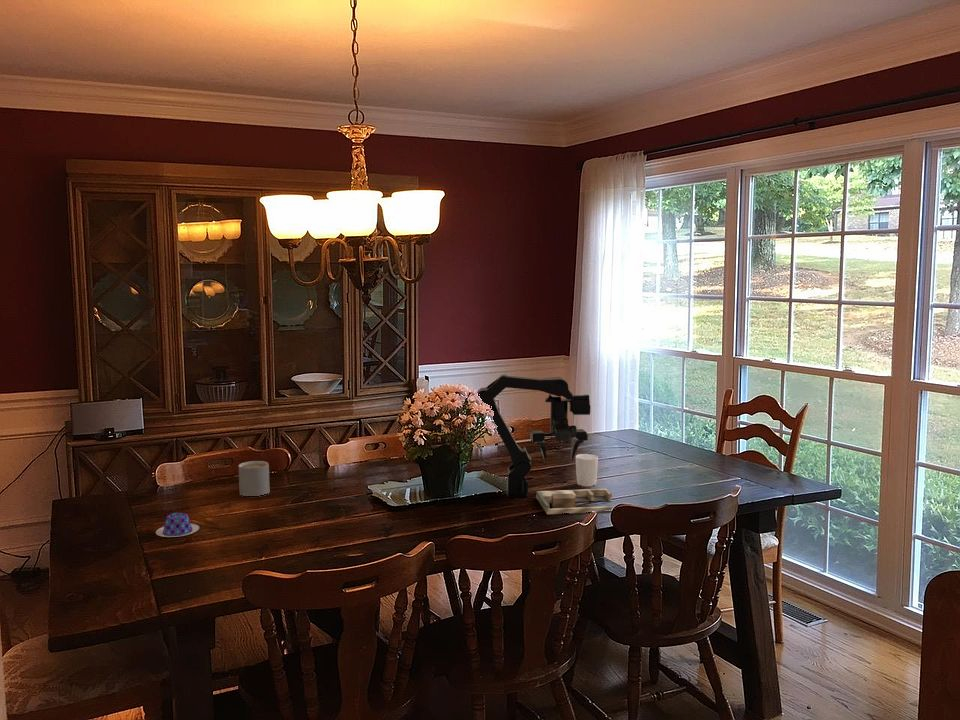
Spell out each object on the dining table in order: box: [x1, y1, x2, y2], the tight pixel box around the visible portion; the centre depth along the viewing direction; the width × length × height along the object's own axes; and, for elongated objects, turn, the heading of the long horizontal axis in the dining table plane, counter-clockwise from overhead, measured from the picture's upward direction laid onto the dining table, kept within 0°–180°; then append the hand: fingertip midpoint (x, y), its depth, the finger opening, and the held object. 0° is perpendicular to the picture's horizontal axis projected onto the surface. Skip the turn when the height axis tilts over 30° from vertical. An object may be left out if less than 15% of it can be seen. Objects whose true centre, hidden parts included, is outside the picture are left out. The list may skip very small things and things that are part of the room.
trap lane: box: [536, 488, 615, 515], centre depth 258 cm, size 24×17×2 cm
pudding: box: [155, 512, 200, 538], centre depth 234 cm, size 12×12×5 cm
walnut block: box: [551, 494, 576, 509], centre depth 256 cm, size 7×5×4 cm
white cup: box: [575, 453, 599, 487], centre depth 282 cm, size 8×8×10 cm
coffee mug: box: [238, 460, 271, 497], centre depth 274 cm, size 13×10×10 cm
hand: (558, 460), depth 268 cm, fingers open, 9 cm apart
